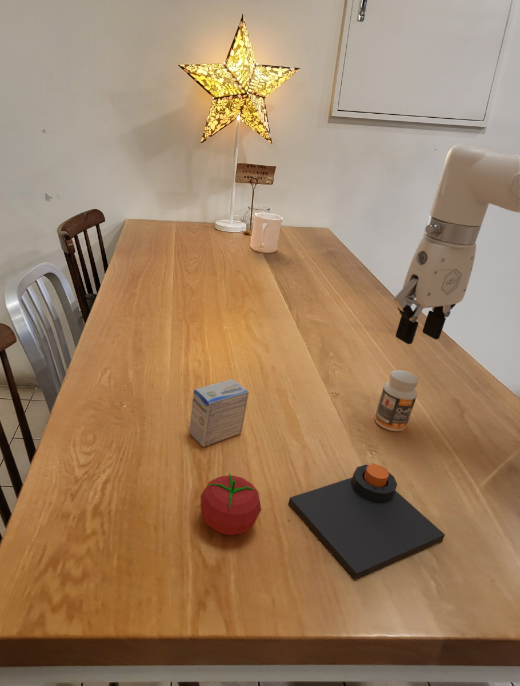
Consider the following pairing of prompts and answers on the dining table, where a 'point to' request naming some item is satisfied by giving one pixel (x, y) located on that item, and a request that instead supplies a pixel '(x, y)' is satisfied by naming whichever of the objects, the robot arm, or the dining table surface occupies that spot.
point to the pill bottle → (397, 401)
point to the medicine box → (218, 412)
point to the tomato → (230, 505)
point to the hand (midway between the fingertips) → (417, 337)
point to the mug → (265, 232)
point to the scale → (365, 523)
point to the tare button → (376, 475)
